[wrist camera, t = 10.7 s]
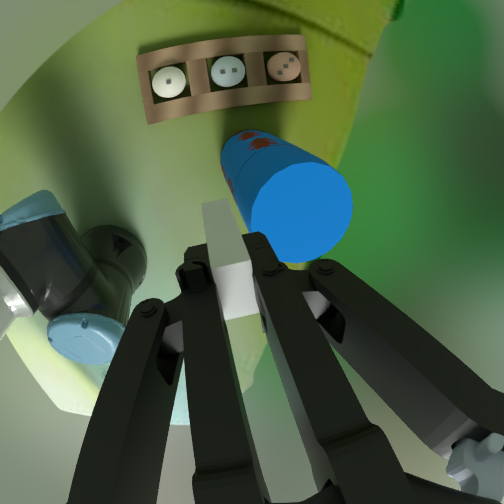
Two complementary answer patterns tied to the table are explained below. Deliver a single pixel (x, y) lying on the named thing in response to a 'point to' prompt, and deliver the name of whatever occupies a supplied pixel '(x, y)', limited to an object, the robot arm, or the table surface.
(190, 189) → the table surface
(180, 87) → the button one
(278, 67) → the button three
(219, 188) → the table surface
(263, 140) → the thermos
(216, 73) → the button two
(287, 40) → the board
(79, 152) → the table surface
